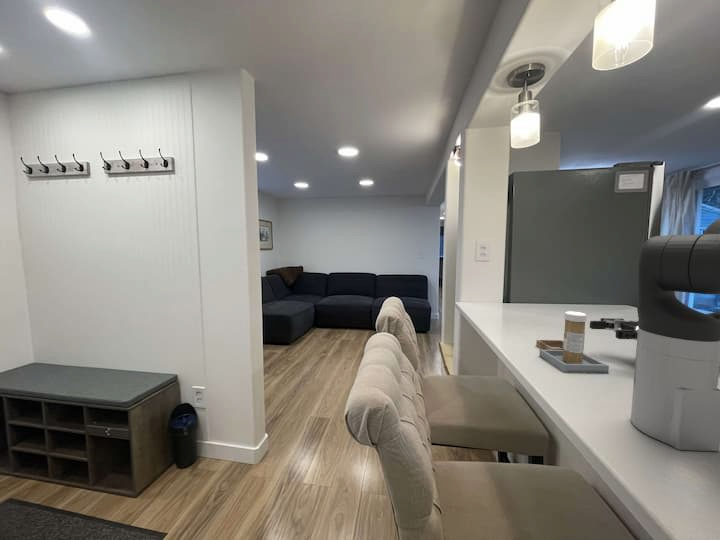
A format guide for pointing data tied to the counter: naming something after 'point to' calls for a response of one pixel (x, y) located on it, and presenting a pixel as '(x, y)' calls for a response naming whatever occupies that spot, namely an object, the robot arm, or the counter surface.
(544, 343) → the wooden picture frame
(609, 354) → the counter surface
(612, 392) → the counter surface
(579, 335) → the sprinkles bottle
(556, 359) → the slate tray
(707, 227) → the robot arm
